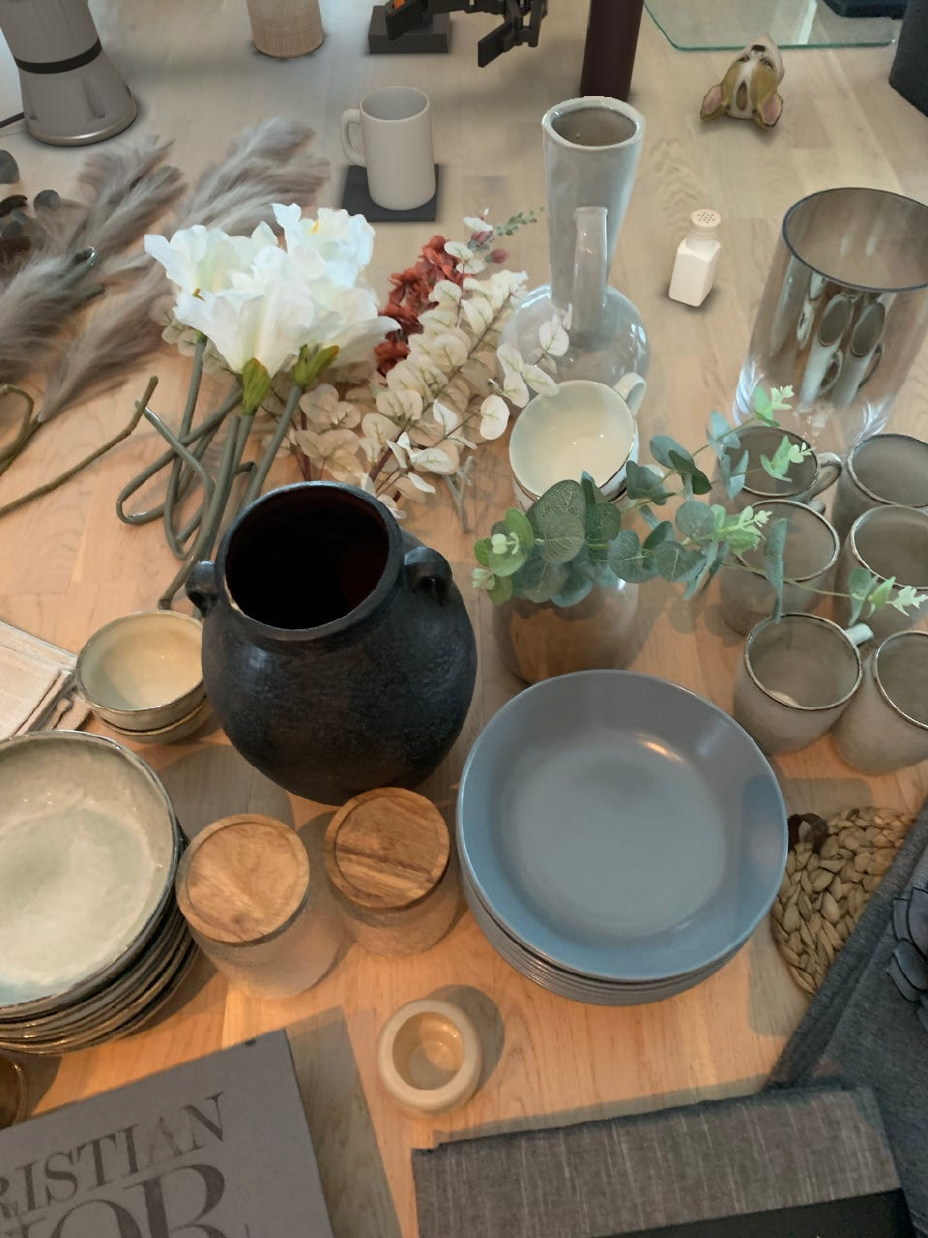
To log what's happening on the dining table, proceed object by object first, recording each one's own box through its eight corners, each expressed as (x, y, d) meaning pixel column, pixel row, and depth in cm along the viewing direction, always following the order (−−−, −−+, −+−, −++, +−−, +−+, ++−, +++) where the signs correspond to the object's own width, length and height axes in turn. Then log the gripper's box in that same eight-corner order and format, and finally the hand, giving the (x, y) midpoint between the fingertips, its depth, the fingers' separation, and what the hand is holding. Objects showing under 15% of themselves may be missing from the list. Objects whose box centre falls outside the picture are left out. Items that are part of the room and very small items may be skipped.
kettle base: (370, 54, 132) (366, 21, 129) (375, 24, 138) (372, -9, 134) (447, 52, 132) (446, 19, 128) (450, 22, 137) (448, -10, 134)
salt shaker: (665, 299, 98) (680, 221, 90) (679, 280, 100) (695, 202, 92) (698, 309, 97) (716, 232, 89) (712, 290, 99) (731, 212, 91)
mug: (445, 179, 112) (440, 90, 103) (421, 216, 108) (414, 126, 98) (360, 164, 114) (349, 76, 105) (334, 200, 110) (319, 110, 101)
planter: (261, 27, 138) (247, -44, 130) (328, 26, 138) (318, -45, 130) (249, 60, 132) (234, -12, 124) (319, 59, 132) (308, -13, 124)
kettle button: (393, 15, 130) (392, -1, 129) (395, 2, 133) (394, -14, 131) (422, 14, 130) (421, -1, 128) (423, 1, 133) (422, -14, 131)
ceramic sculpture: (811, 24, 115) (786, 84, 108) (793, 90, 122) (769, 150, 116) (731, 13, 117) (703, 71, 111) (719, 79, 125) (691, 137, 118)
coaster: (339, 221, 108) (339, 217, 108) (349, 169, 115) (348, 164, 114) (434, 220, 108) (434, 216, 108) (438, 168, 115) (438, 163, 114)
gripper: (603, 30, 114) (519, 99, 105) (448, -12, 122) (357, 50, 113) (609, -37, 108) (521, 31, 99) (446, -76, 116) (350, -17, 107)
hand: (433, 41), depth 106 cm, fingers open, 13 cm apart
